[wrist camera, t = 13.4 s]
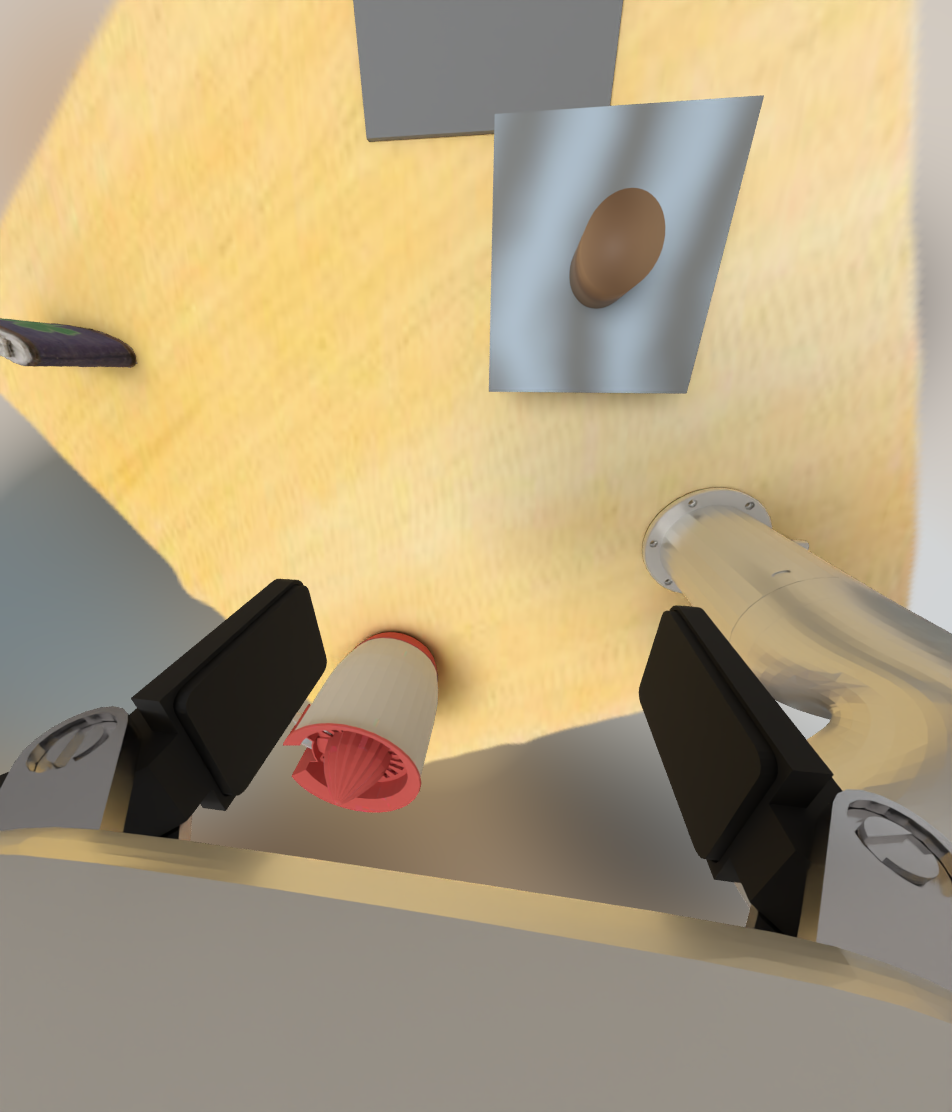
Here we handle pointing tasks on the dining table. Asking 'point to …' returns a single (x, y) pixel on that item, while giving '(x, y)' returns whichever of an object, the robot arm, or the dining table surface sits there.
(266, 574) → the dining table surface
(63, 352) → the flask
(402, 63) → the tray
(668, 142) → the lid
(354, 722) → the citrus juicer
